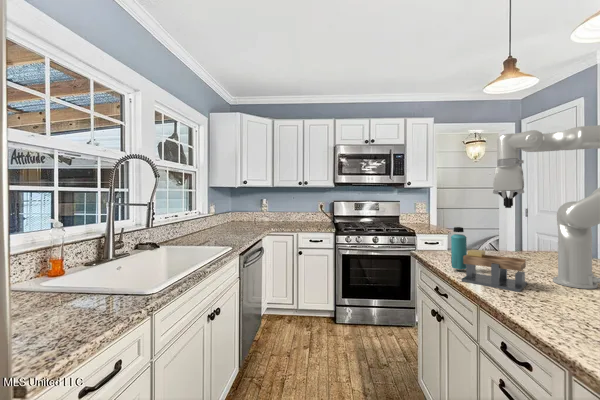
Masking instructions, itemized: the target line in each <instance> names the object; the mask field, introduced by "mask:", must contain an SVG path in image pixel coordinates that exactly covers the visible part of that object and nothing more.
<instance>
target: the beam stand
mask: <svg viewBox="0 0 600 400" xmlns="http://www.w3.org/2000/svg"><path fill="white" fill-rule="evenodd" d="M476 266H477V265H470V264H466V269H465V271H466V272H465V273H466V275H465V276H464V277H462V278H461V282H463V283H469V284H474V285H480V286H484V287H489V288H496V289H500V290H504V291H511V292H517V293H520V292H522V290H523V289H524V288H525V287H527V285H528V282H527V281H526V273H525V271H517V272H515V273H514V274H515V275H514V279H513V278H508V269H501V268H500V264H497V263H491V267H490V268H491V269H490V270H491V271H490V273H491V274H490V275H487V274H482V273H477V271H476V270H477V267H476Z"/></svg>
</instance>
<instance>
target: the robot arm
mask: <svg viewBox="0 0 600 400" xmlns="http://www.w3.org/2000/svg"><path fill="white" fill-rule="evenodd" d="M591 149H592V150H595V149H597V150H599V149H600V124H599V125H585V126H584V125H583V126H576V127H572V128H568V129H566V130H562V131H555V132H548V133H542V132H541V131H539V130H535V129H533V130H527V131H522V132H517V133H504V134H500V135H499V136H497V138H496V159H497V160H496V165H497V166H496V167H495V169H494V174H493V181H492V182H493V183H492V187H493V188H492V189H493V191H492V194H494V195H499V196H500V197H501V198H502V199H503V206H504V209H511V208H512V207H513V206H514V198H515V197H517V195H522V194H524V193H525V189H524V188H525V179H524V170H523V166H520V165H521V164H524V162H525V160H524V159H520V150H521V151H523V152H526V153H539V152H558V151H575V150H591ZM507 191H508V192H509V196H508V193H507ZM556 225H557V241H558V242H557V276H554V277H553V278H552V281H553V283H555V284H558V285H560V286H563V287H564V286H565V287H569V288H575V289H576V288H577V289H585V290H591V289H592V290H593V289H597V288H599V284H600V277H598V276H595V275H594V272H593V230H592V228H593V227H595V226H597V225H600V187H598V188H595V190H593V191H592V193H591V194H590V195H588V196H586V197H585V198H582V199H580V200H578V201H577V200H575V201H573V200H571V201H567V202H565V203H563V204H561V206H560V207H558V209H557V212H556Z"/></svg>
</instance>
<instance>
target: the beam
mask: <svg viewBox="0 0 600 400" xmlns="http://www.w3.org/2000/svg"><path fill="white" fill-rule="evenodd" d="M526 260H527V259H526V258H521V257H520V258H518V257H509V256H499V255H489V254H485V258H479V257H470V256H468V253H467V255H465V256H463V264H470V265H476V266H481V267H486V268H487V267H488V268H491V263H497V264H500V268H501V269H507V271H508V270H511V271H517V272H518V271H521V272H523V270H524V269H525V268H527V266H526V265H527V263H526V262H527V261H526Z"/></svg>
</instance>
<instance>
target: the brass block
mask: <svg viewBox="0 0 600 400" xmlns="http://www.w3.org/2000/svg"><path fill="white" fill-rule="evenodd" d="M467 254H468V256H470V257H479V258H485V255H486V250H482V249H468V250H467Z"/></svg>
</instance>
